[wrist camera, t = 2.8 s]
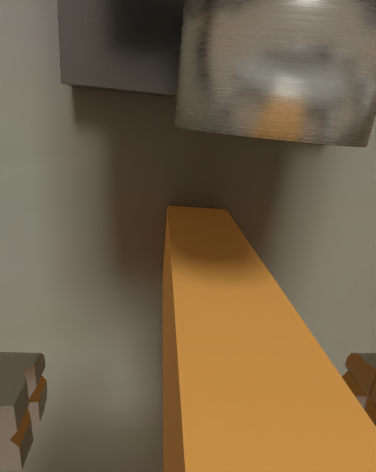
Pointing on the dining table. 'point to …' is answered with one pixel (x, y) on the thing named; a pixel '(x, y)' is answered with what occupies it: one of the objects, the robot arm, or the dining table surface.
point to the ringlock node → (233, 62)
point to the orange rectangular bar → (246, 364)
